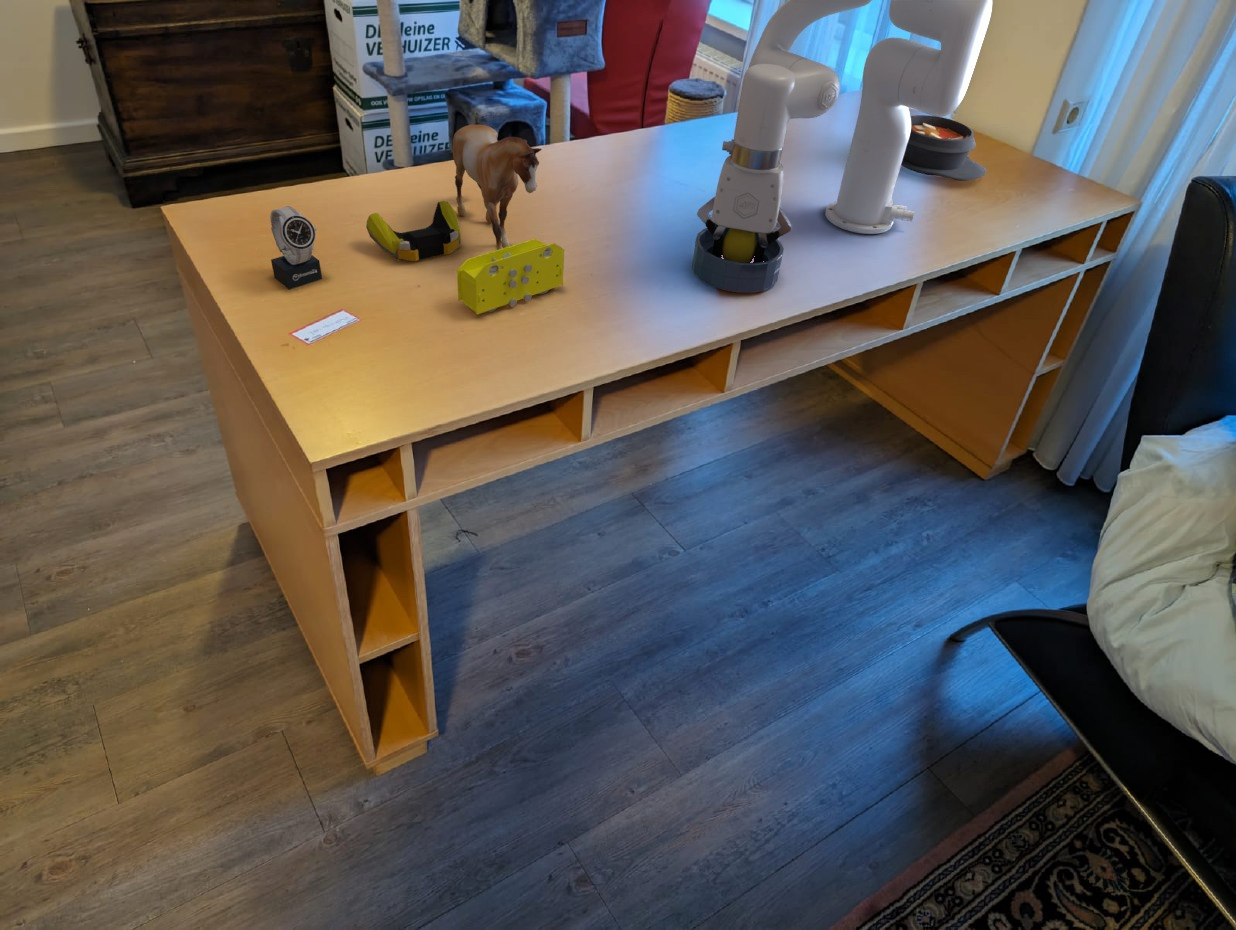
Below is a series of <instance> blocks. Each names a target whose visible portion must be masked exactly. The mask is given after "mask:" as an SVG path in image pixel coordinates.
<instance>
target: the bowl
mask: <svg viewBox="0 0 1236 930" xmlns="http://www.w3.org/2000/svg"><path fill="white" fill-rule="evenodd" d="M729 229H730V228H727V227H726V228H725V230H724V235H726V233H727V232H728V230H729ZM755 235H756V239H757V243H758V241H759V235H758V233H756V232H755ZM695 237H696V238H695V241H694V248H693V256H692V261H691V269H692V272H693V274H694V275H695V276H696V277H697V278H698V279H699V281H701V282H703V283H705V284H706V285H708V286H710V287H712V288H715V289H719V290H722V291H726V292H733V293H746V294H747V293H757V292H764V291H765V290H767V289H770V288H772V287H773V286H774V285H775V284H776V283H777V282H778V278H779V273H780V269H781V265H782V259H783V256H784V251H785V248H784V246H783V244H782V242H781V241H780V240H779V238H778V239H777V240H775V241H774V242H772V243H771V244H769V245H768V246H767V247H766V248H765V252H764V257H763V261H764V262H761V263H738V262H733V261H728V260H725V259H722V258H719V257H716V256H715V255H712V250H713V244H714V238H713V235H712V234H711V233H710V231H709V230H708V229H707V227H705V228H703V229H702V230H700V231H699V232H698V233H697V234H696V236H695ZM724 237H725V236H724ZM721 255H722V254H721ZM721 257H722V256H721Z"/></svg>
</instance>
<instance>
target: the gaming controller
mask: <svg viewBox="0 0 1236 930" xmlns="http://www.w3.org/2000/svg"><path fill="white" fill-rule="evenodd" d="M365 228H366V230H367V233H368V236H369V238H371V239H372V241H374V243H375V244H376V245H377V246H378V247H379V248H380V249H381V250H382V251H383V252H385V253H387V254H389V255H390V256H391V257H393V258H395V260H397V261H409V262H417V261H421V260H425V259H426V260H427V259H430V258H435V257H439V256H444V255H450V254H452V253H453V252H454V251H456V250H457V249H458V248H459V247H460V245H461V243H462V238H461V237H462V235H461V229H460V224H459V220H458V216H457V211H456V210H455V209H454V208H453V206H452V205H451V204H450V202H449V201H448V200H441V201H438V202H437V204H436V207H435V210H434V213H433V218H432V223H431V224H429V226H427V227H425V228H419V229H413V230H409V231H408V230H407V231H402V232H400V231H396V230H393V229H392V227H391V226H390V225H389V224H388V223H387V221H385V219H384V218H383V216H382V215H381V214H380V213H379V212H373V213H371V214H369V215H368V218H367V220H366V227H365Z"/></svg>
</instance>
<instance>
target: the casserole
mask: <svg viewBox="0 0 1236 930" xmlns="http://www.w3.org/2000/svg"><path fill="white" fill-rule="evenodd" d="M910 117H911V132H910V137H909V140H908V143H907V146H906V150H905V153H904V156H903V160H902V163H901V166H902V167H903V168H905V169H907V170H909V171H911V172H915V173H917V174H921V175H926V176H934V177H937V176H938V177H942V178H945V179H950V180H953V181H958V182H959V181H960V182H962V181H963V182H964V181H966V182H967V181H972V180H977V179H980V178H982V177H983V176H985V175H986V174H987V169H986V167H984V166H983V165H981V164H979V163H978V162H976V161H974V160H973V159H971V158H970V157H969V155H970V153H971V151H973V150H974V149H975V148H976V147H977V143H976V141H975V133H974V130H973V129H972V128H970V127H969V126H968V125H965V124H964V123H961V122H959V121H957V120H953V119H950V118H946V117H943V116H942V117H938V116H933V115H928V114H926V115H924V114H922V115H921V114H920V115H919V114H917V115H910Z"/></svg>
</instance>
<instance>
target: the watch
mask: <svg viewBox="0 0 1236 930" xmlns="http://www.w3.org/2000/svg"><path fill="white" fill-rule="evenodd" d="M269 217H270V219H269V220H270V226H271V227H270V230H271V233H272V236H273V238H274V241H275V245H276V247H277V248H278V251H279V252H280V253H281V254H282V256H278V257H275V258H271V259H270V263H271V267H272V273H273V276H274V280H276V281H277V282H279V283H280V284H281V285H282V286H283V287H285V289H287V290H292V289H295V288H298V287H302V286H305V285H308V284H311V283H314V282H317V281H321V280H323V274H322V268H321V263H320V259H318V258H316V257H315V256H314V255H313V251H314V250H315V240H316V236H317V235H316V231H317V226H316V225H314V224H313V223H312V222H311V221H310V219H308V218H307V217H305V216H304V215H303V214H302V213H301V212H300V211H299V210H296V209H295V208H293V207H292V206H290V205H289V206H284V207H280V208H276V209H272V210H271V212H270V215H269Z"/></svg>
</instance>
